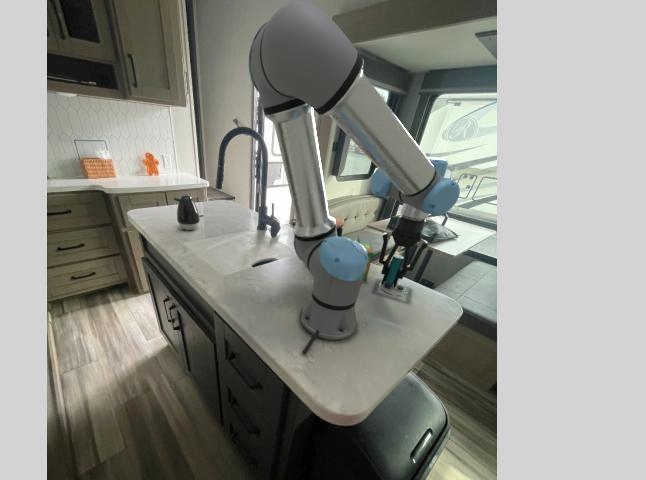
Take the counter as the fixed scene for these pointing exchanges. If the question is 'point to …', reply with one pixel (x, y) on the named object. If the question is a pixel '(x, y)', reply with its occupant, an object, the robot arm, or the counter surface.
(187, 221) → the pump dispenser
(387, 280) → the dot marker
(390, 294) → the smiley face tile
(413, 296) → the counter surface
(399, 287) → the eye dot
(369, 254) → the chalk box
